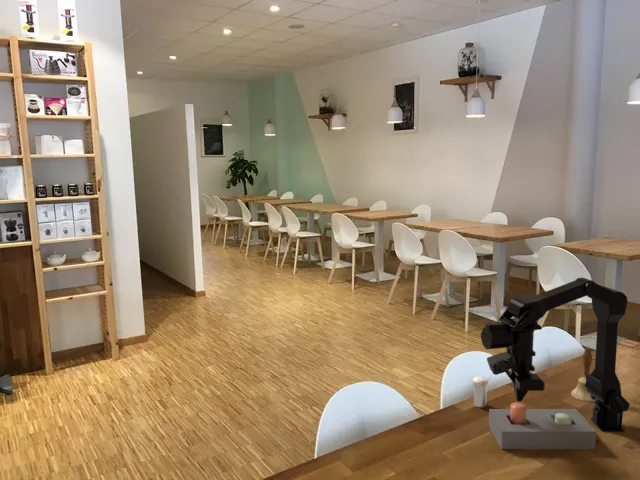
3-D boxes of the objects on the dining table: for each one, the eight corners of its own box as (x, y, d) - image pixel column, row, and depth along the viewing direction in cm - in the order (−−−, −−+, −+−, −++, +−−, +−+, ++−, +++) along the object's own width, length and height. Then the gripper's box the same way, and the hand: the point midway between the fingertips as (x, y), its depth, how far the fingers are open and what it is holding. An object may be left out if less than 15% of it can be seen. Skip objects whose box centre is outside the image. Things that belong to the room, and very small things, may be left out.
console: (574, 425, 148) (575, 408, 147) (595, 449, 136) (596, 431, 136) (488, 425, 149) (489, 409, 149) (501, 449, 138) (502, 431, 137)
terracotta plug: (522, 419, 144) (523, 402, 144) (527, 427, 140) (528, 409, 140) (507, 419, 145) (508, 402, 144) (512, 427, 141) (513, 409, 140)
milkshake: (491, 409, 158) (492, 378, 157) (472, 408, 159) (473, 377, 158) (489, 402, 163) (490, 372, 161) (471, 401, 164) (472, 371, 162)
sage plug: (566, 430, 144) (567, 413, 144) (572, 437, 140) (574, 420, 140) (551, 430, 145) (552, 413, 144) (557, 437, 141) (558, 420, 140)
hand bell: (592, 405, 160) (596, 355, 157) (565, 395, 166) (568, 347, 164) (605, 396, 165) (608, 348, 162) (578, 387, 171) (581, 341, 169)
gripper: (481, 333, 148) (479, 385, 151) (501, 359, 130) (498, 418, 133) (521, 333, 148) (519, 385, 150) (546, 359, 129) (543, 418, 132)
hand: (518, 400), depth 141 cm, fingers closed
